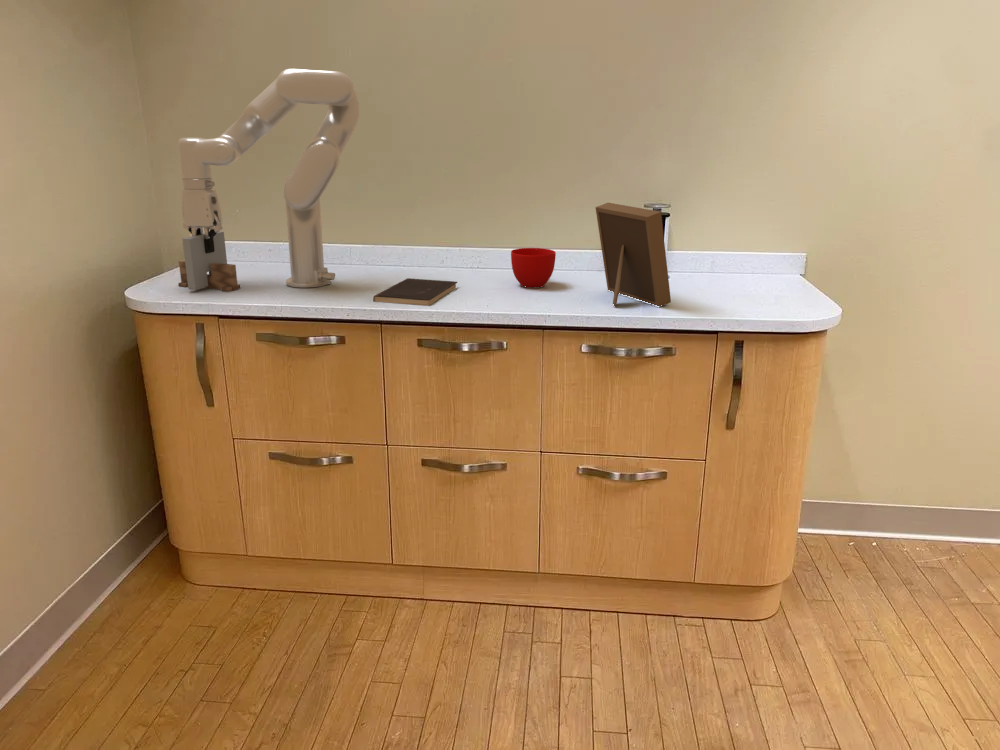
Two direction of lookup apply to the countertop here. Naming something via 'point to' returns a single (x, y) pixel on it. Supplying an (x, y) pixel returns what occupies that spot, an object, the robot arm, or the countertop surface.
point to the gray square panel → (202, 258)
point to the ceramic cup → (533, 265)
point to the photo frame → (634, 252)
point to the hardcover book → (415, 291)
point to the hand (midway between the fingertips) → (205, 251)
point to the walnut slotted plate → (215, 276)
